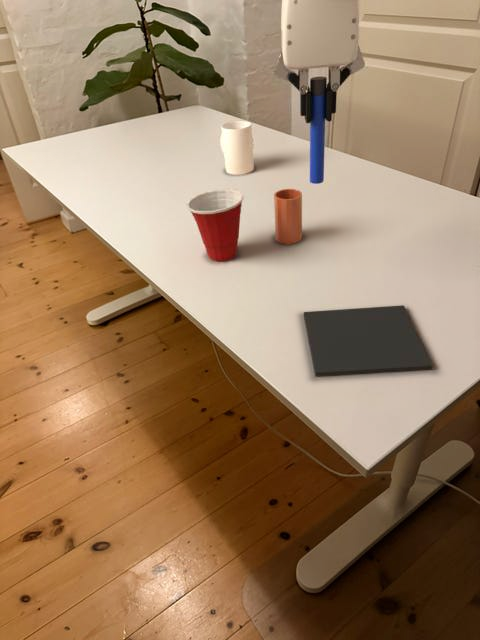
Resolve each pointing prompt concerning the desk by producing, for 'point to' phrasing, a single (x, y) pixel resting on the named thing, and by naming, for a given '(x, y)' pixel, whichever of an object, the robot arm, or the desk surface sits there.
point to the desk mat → (364, 341)
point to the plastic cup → (218, 221)
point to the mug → (237, 147)
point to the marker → (317, 129)
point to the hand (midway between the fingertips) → (317, 118)
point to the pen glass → (288, 215)
